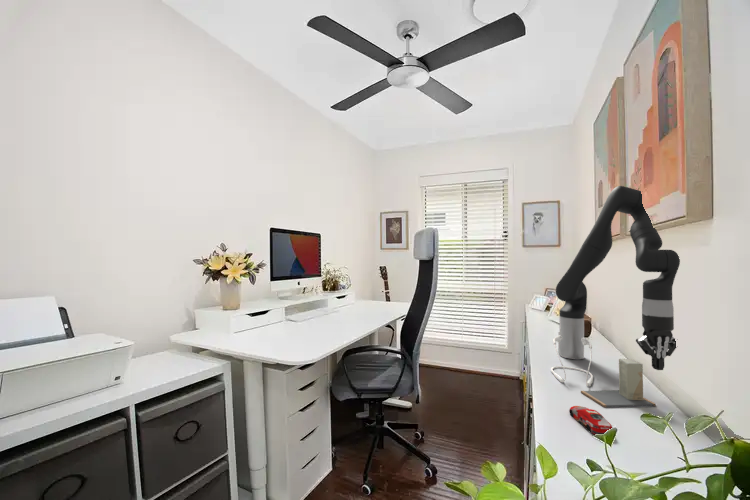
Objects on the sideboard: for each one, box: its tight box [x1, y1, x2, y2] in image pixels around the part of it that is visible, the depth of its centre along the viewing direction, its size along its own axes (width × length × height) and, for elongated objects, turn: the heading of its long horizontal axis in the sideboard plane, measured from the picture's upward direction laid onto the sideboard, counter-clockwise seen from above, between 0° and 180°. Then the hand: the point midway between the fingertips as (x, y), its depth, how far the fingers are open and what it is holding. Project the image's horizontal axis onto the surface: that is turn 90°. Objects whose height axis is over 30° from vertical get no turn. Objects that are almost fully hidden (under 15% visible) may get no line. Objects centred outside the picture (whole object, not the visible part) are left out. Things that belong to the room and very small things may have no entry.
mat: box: [580, 389, 656, 408], centre depth 103 cm, size 10×16×1 cm, turn 93°
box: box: [618, 358, 644, 400], centre depth 103 cm, size 5×4×11 cm
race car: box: [568, 405, 613, 435], centre depth 88 cm, size 13×5×4 cm, turn 177°
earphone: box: [550, 334, 594, 387], centre depth 122 cm, size 14×17×18 cm
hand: (657, 369), depth 104 cm, fingers closed
